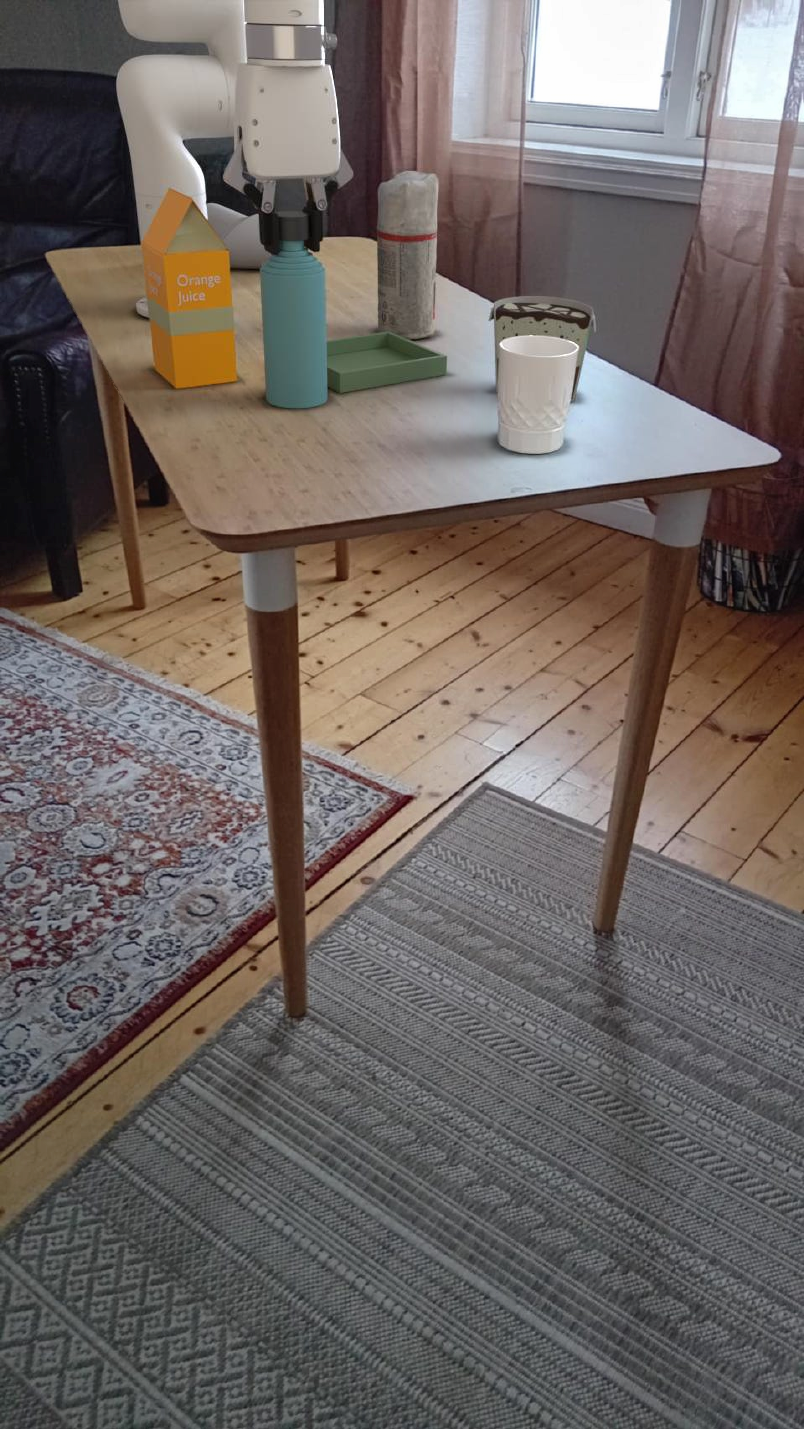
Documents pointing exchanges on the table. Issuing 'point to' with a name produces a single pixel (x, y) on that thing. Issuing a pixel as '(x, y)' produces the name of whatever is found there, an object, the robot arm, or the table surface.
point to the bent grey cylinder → (238, 236)
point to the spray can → (407, 254)
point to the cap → (293, 226)
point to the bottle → (294, 327)
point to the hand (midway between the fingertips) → (291, 249)
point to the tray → (379, 361)
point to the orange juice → (188, 296)
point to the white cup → (534, 392)
